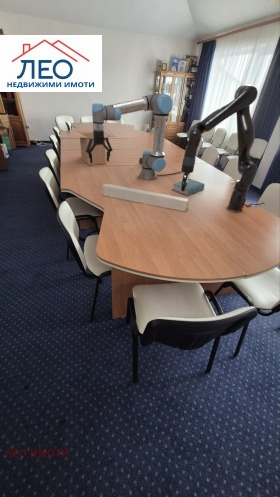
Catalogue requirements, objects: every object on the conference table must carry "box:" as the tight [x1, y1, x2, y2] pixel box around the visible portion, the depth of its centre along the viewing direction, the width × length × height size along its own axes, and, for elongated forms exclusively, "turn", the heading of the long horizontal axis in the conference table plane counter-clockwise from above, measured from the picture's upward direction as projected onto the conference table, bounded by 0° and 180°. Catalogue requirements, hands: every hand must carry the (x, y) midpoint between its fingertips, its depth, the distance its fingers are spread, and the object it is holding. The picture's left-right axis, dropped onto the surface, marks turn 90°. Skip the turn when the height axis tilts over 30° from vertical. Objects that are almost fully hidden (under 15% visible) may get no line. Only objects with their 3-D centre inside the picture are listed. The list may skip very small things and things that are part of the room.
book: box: [171, 178, 205, 196], centre depth 185 cm, size 23×16×5 cm
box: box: [70, 129, 114, 166], centre depth 229 cm, size 44×36×27 cm
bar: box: [102, 183, 189, 212], centre depth 160 cm, size 63×5×8 cm, turn 72°
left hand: (99, 161), depth 165 cm, fingers open, 13 cm apart
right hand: (183, 188), depth 147 cm, fingers open, 8 cm apart
